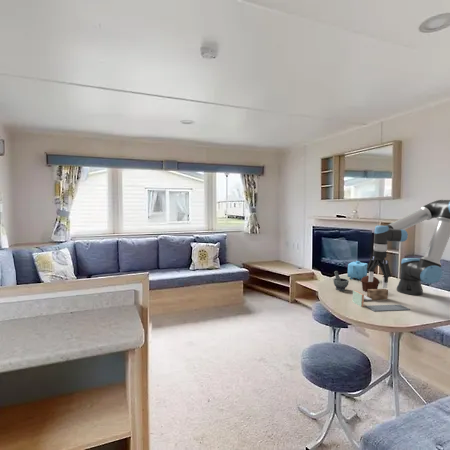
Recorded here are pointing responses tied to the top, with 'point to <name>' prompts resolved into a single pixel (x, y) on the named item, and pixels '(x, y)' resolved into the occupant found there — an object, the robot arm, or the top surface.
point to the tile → (358, 298)
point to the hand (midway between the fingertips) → (377, 284)
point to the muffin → (369, 283)
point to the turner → (376, 294)
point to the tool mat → (387, 307)
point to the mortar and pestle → (340, 282)
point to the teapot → (357, 270)
